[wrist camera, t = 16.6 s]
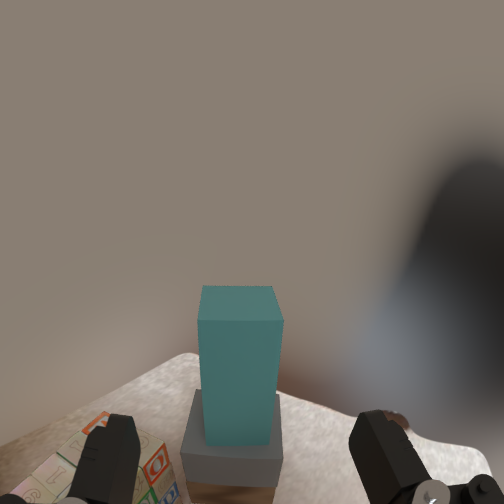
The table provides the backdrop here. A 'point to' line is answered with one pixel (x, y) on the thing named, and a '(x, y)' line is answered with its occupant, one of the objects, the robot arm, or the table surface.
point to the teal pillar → (239, 363)
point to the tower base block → (229, 494)
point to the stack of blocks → (66, 460)
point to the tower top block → (230, 454)
